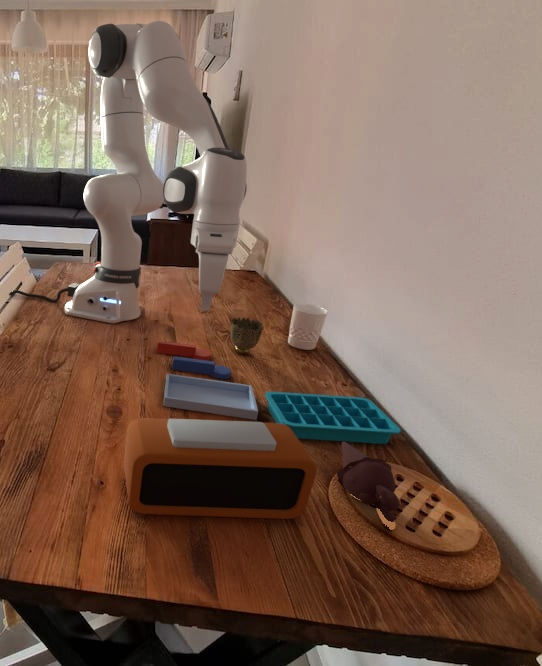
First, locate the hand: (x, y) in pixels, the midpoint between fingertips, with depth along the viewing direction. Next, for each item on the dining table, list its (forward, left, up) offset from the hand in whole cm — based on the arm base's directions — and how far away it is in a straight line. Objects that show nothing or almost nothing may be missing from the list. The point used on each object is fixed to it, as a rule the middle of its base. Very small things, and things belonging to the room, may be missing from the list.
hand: (204, 303), depth 95 cm
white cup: (+28, +25, -16) cm, 41 cm away
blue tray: (+3, -11, -16) cm, 20 cm away
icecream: (+24, -33, -16) cm, 44 cm away
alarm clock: (+2, -39, -16) cm, 43 cm away
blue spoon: (+2, +1, -16) cm, 16 cm away
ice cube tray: (+24, -14, -16) cm, 32 cm away
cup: (+12, +15, -16) cm, 25 cm away
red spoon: (-2, +9, -16) cm, 19 cm away
